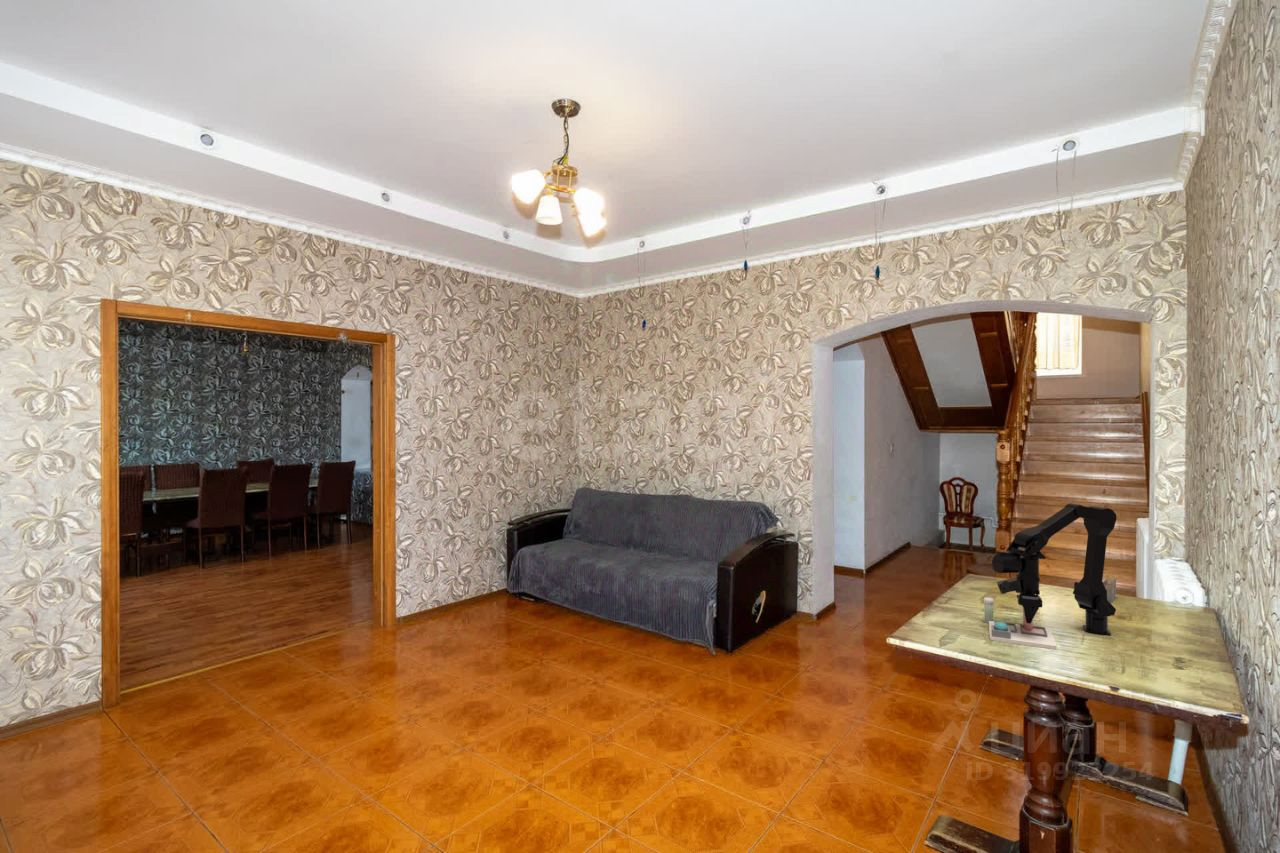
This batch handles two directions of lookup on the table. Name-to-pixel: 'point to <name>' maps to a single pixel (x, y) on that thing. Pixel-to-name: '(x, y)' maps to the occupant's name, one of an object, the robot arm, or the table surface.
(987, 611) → the sage marker
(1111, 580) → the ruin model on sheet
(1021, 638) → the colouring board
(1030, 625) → the rose marker
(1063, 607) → the table surface
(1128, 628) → the table surface
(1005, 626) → the button
